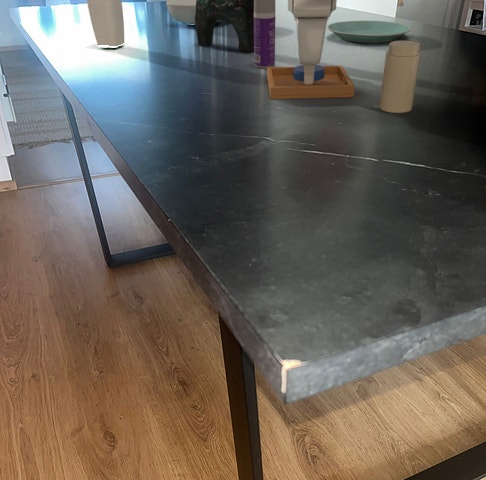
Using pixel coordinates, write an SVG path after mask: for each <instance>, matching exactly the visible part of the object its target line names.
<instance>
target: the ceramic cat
mask: <svg viewBox="0 0 486 480" xmlns="http://www.w3.org/2000/svg"><path fill="white" fill-rule="evenodd" d="M217 20H221V21H220V22H224V23H228V24H231V26H232V27H233V29H234V31H235V34H236V36H237V40H238V52H239V51H242V52H241V53H248V54H249V53H250V54H251V53H254V0H196V12H195V26H194V27H195V32H196V39H197V44H198V46H201V47H209V46H208V45H210V46H212V45H213V39H214V32H215V26H216V24H217V23H216V21H217ZM211 44H212V45H211Z"/></svg>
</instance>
